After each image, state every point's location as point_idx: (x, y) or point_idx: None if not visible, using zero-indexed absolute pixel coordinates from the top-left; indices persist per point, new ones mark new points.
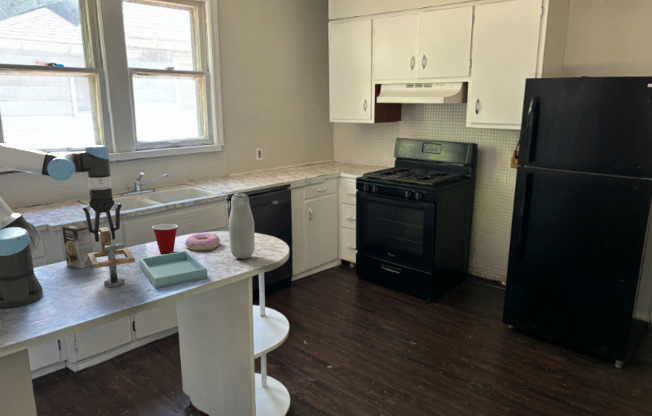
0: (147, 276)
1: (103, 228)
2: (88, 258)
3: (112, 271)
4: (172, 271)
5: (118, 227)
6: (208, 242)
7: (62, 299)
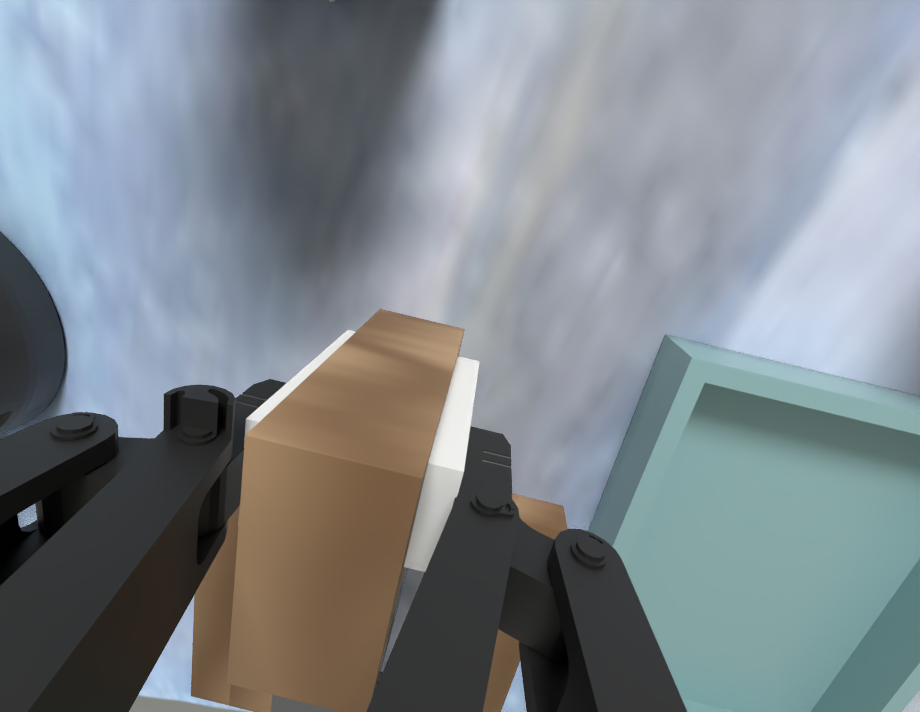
0: None
1: (309, 536)
2: None
3: None
4: (740, 576)
5: (560, 667)
6: None
7: None
